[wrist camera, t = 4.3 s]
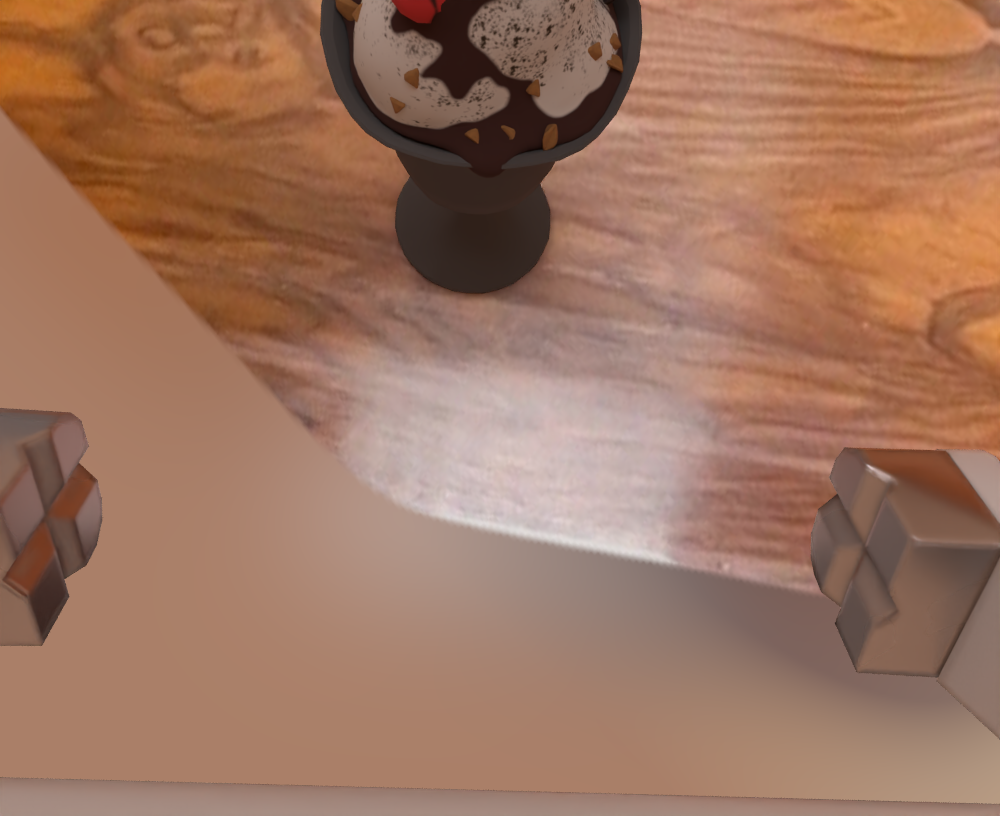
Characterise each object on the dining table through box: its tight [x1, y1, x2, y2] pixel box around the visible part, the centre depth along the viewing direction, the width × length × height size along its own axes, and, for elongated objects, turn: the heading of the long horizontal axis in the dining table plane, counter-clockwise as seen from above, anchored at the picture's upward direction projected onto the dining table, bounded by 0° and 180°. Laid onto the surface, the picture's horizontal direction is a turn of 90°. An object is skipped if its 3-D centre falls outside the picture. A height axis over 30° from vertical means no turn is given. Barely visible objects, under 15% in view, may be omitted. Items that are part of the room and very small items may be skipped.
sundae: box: [320, 0, 642, 293], centre depth 20 cm, size 7×7×15 cm
